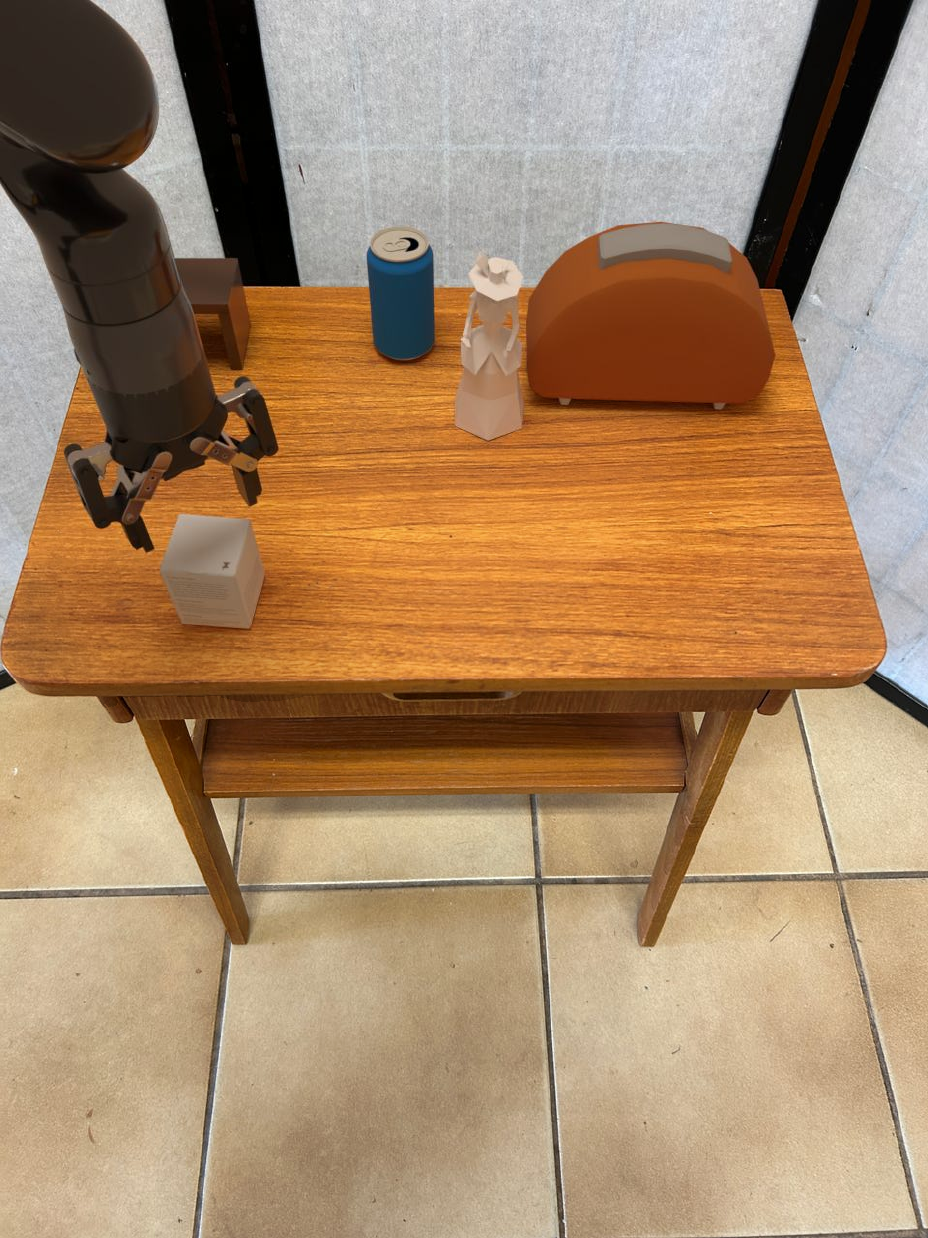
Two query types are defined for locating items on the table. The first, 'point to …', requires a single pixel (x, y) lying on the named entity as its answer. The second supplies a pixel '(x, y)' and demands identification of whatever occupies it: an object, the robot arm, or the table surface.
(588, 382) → the orange toaster
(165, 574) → the product box
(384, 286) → the beverage can
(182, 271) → the shelf
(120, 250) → the robot arm
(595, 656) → the table surface
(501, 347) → the figurine
